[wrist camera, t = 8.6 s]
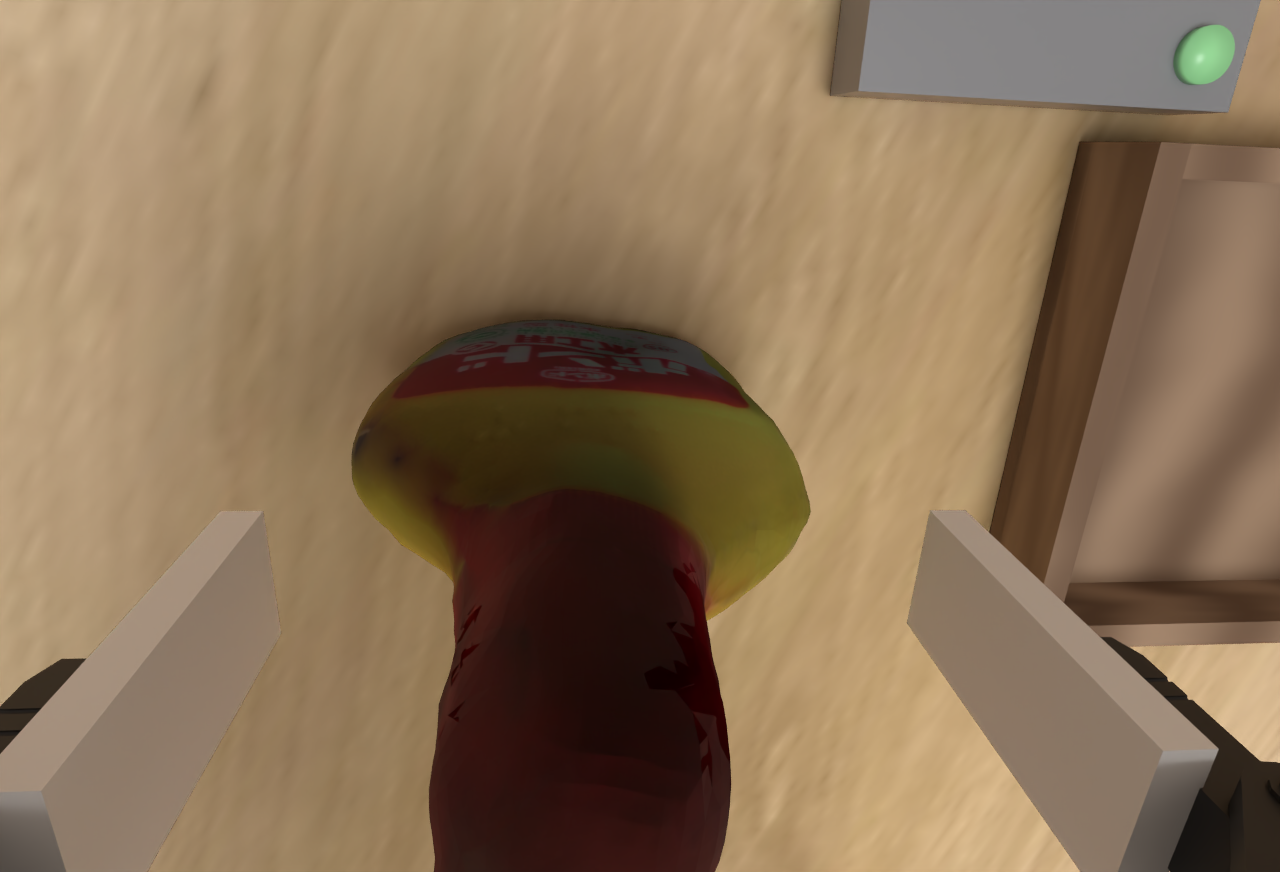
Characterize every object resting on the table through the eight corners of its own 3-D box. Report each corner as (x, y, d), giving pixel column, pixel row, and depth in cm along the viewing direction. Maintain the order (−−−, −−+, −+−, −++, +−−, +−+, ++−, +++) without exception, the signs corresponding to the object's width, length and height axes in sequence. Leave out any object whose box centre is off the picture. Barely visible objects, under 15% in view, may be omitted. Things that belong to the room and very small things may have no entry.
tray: (975, 594, 33) (1026, 649, 29) (1079, 142, 26) (1161, 142, 23) (1351, 587, 35) (1442, 638, 31) (1533, 165, 28) (1672, 169, 25)
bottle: (394, 433, 28) (61, 1038, 9) (424, 257, 25) (75, 570, 7) (709, 497, 30) (966, 1090, 11) (760, 341, 28) (1179, 748, 9)
